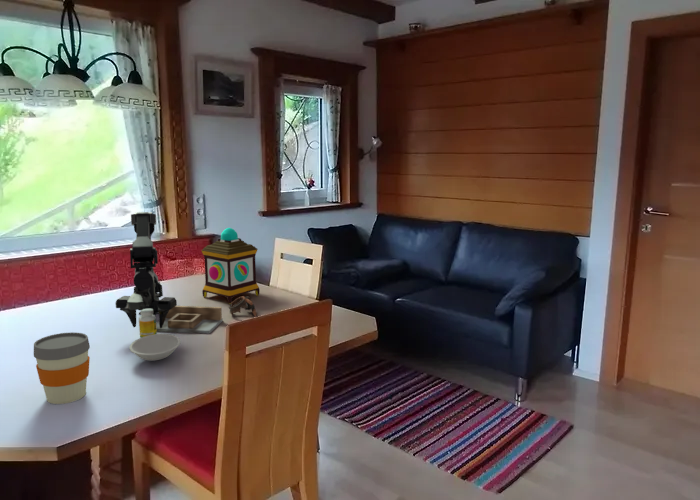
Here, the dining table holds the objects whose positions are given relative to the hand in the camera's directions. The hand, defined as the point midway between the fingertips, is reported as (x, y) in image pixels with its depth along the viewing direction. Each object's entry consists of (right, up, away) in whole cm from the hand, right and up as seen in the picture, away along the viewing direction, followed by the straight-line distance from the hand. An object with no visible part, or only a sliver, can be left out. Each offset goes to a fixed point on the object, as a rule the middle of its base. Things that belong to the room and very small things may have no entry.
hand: (147, 327), depth 180 cm
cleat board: (+9, -1, +13) cm, 16 cm away
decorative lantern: (+17, +6, +52) cm, 54 cm away
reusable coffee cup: (-5, -12, -42) cm, 44 cm away
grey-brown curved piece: (+27, +1, +27) cm, 38 cm away
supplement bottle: (0, -4, +1) cm, 4 cm away
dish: (+9, -7, -18) cm, 21 cm away
